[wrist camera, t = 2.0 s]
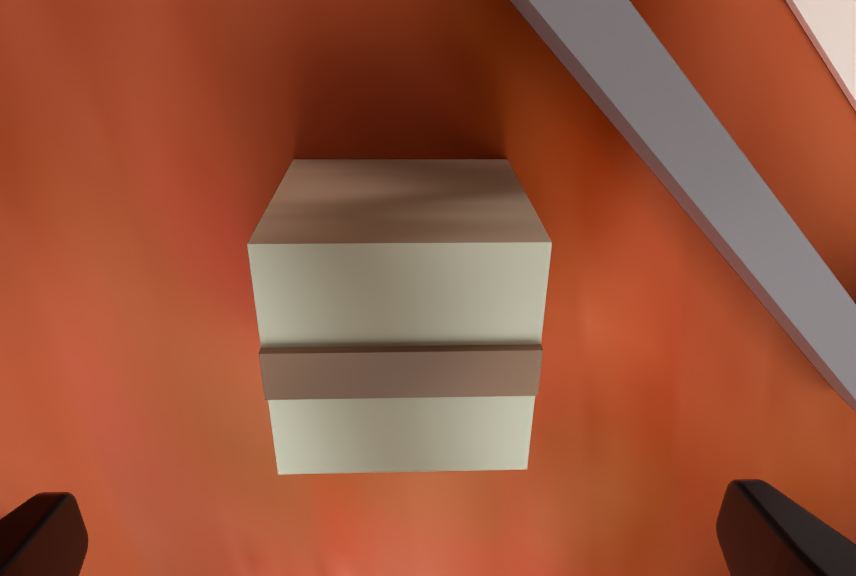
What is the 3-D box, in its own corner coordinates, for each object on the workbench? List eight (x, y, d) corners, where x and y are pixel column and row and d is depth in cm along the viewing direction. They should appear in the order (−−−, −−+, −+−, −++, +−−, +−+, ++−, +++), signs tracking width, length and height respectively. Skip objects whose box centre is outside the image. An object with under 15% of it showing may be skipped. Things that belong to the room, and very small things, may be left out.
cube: (507, 158, 15) (554, 247, 10) (494, 337, 17) (528, 476, 12) (293, 158, 15) (244, 249, 10) (310, 340, 17) (276, 482, 12)
